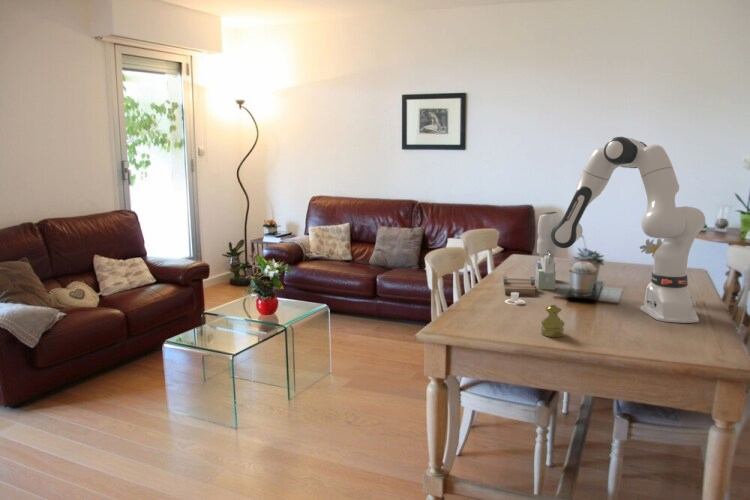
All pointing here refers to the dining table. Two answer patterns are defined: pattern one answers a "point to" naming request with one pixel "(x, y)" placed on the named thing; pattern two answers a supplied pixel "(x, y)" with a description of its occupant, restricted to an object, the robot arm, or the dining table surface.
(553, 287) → the green block
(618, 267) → the dining table surface
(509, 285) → the stand
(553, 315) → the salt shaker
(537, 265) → the medicine box
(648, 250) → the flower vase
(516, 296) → the teacup and saucer
